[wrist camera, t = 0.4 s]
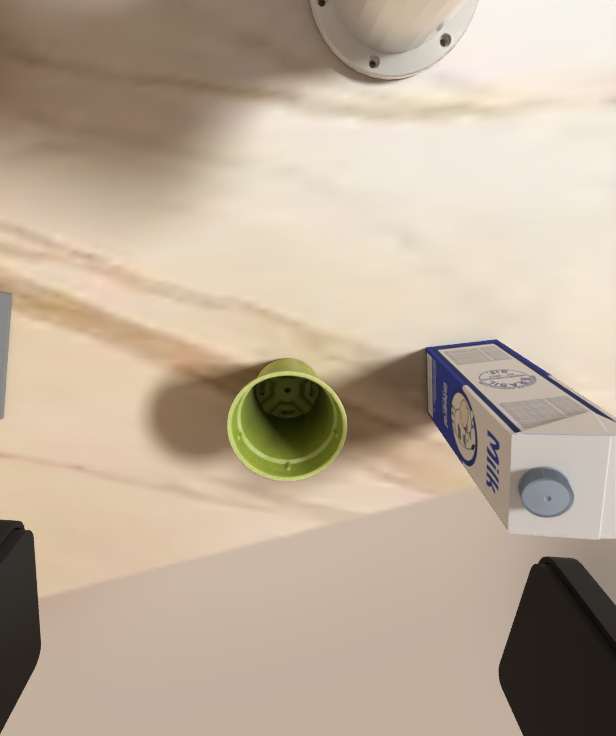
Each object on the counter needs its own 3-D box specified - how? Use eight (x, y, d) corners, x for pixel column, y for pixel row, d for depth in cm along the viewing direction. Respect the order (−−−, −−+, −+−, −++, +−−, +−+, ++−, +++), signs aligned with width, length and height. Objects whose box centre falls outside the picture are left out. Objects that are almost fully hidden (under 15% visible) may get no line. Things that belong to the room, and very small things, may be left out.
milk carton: (495, 407, 48) (634, 542, 29) (427, 414, 48) (522, 556, 29) (497, 337, 45) (650, 435, 27) (425, 345, 45) (528, 450, 26)
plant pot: (239, 434, 47) (230, 483, 39) (234, 340, 44) (223, 373, 36) (334, 431, 48) (345, 479, 40) (336, 339, 45) (348, 370, 37)
